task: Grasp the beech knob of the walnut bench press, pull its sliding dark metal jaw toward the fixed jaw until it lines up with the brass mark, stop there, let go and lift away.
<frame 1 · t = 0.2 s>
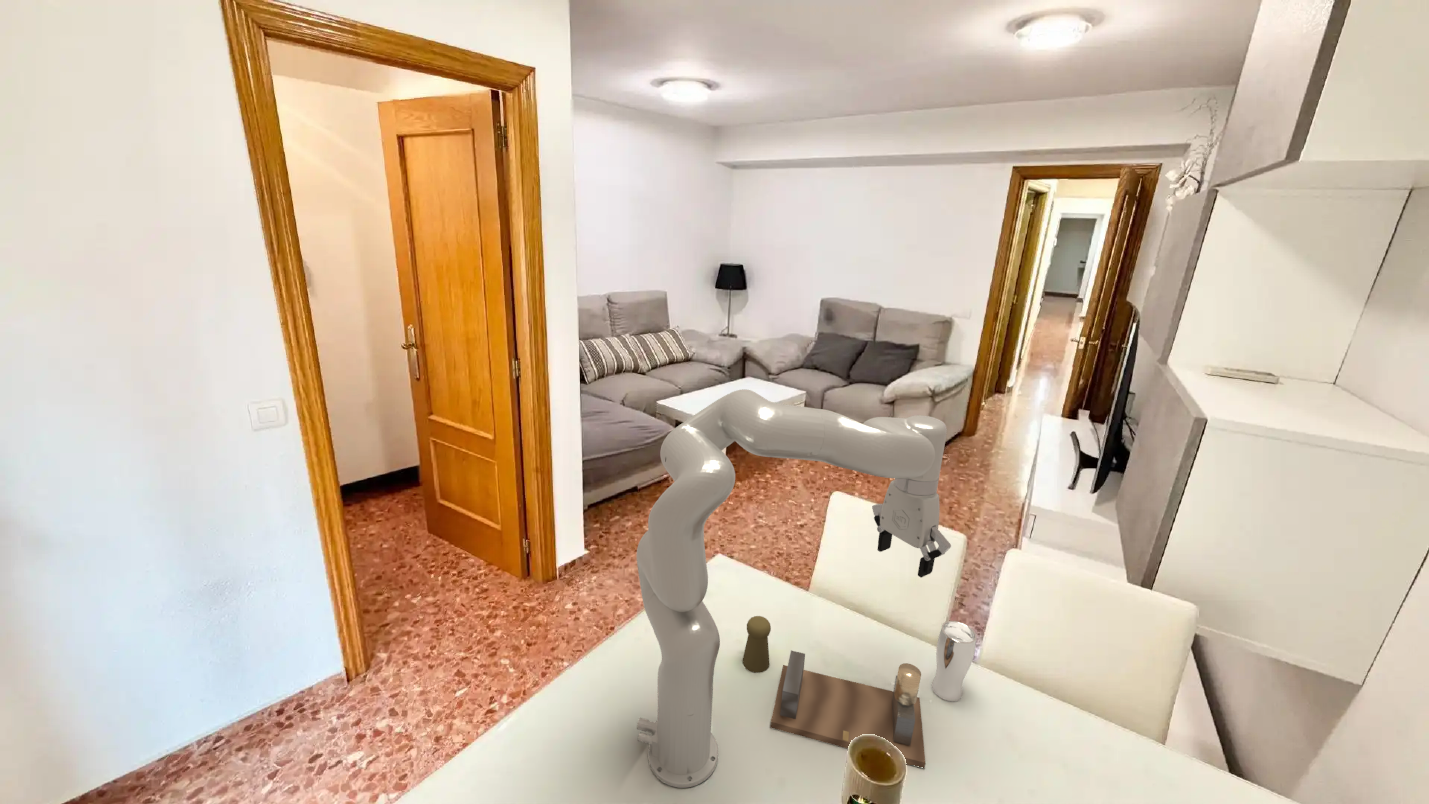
hand: (903, 561, 107), 30 cm above the table, tool pointing down, fingers open, 9 cm apart
beer glass: (946, 691, 116), on the table
olive brown pawn: (755, 663, 121), on the table
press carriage: (905, 696, 104), point 8 cm above the table, slide at 0.0 cm
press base: (846, 715, 109), on the table
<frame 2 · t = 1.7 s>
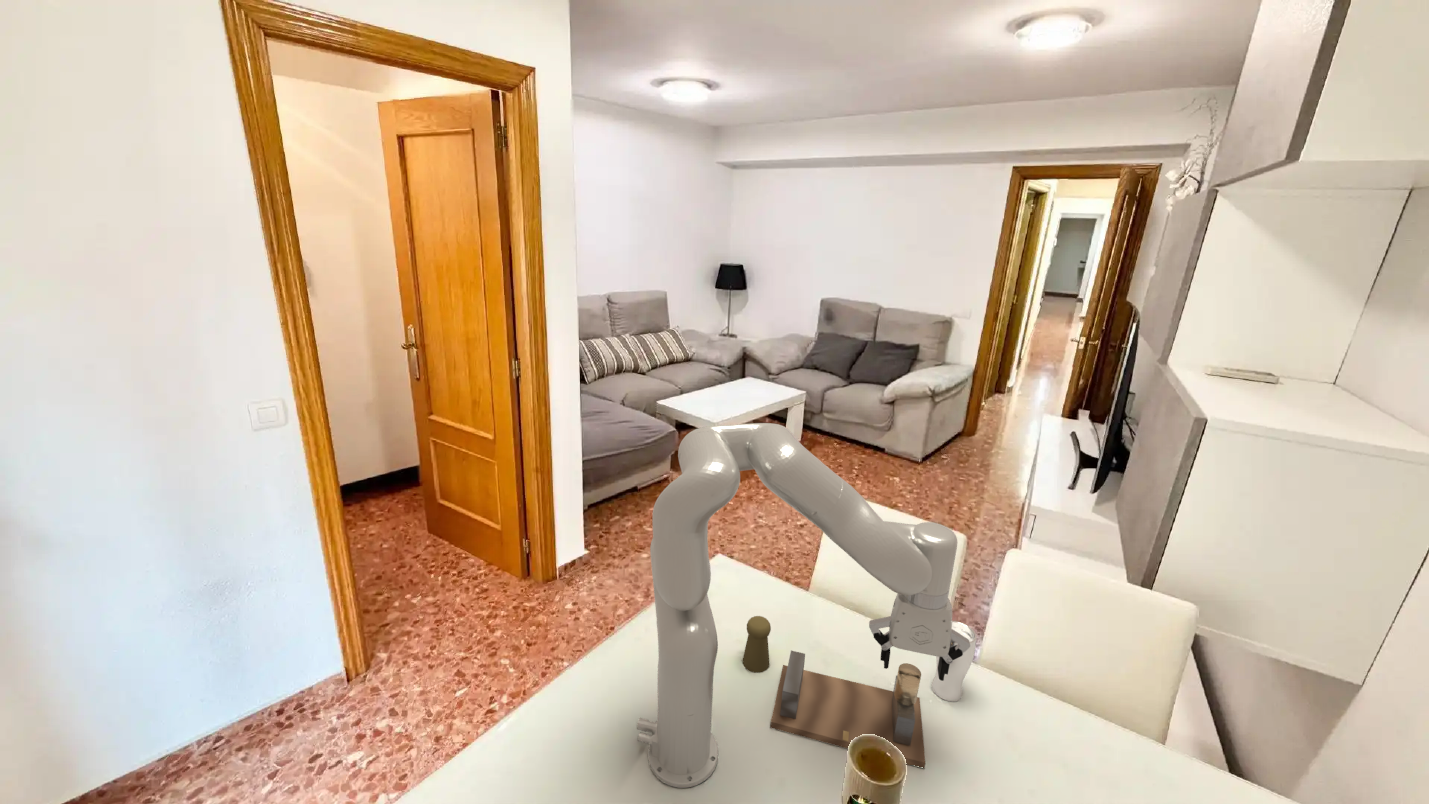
hand: (912, 669, 102), 14 cm above the table, tool pointing down, fingers open, 9 cm apart
nothing on the table moved.
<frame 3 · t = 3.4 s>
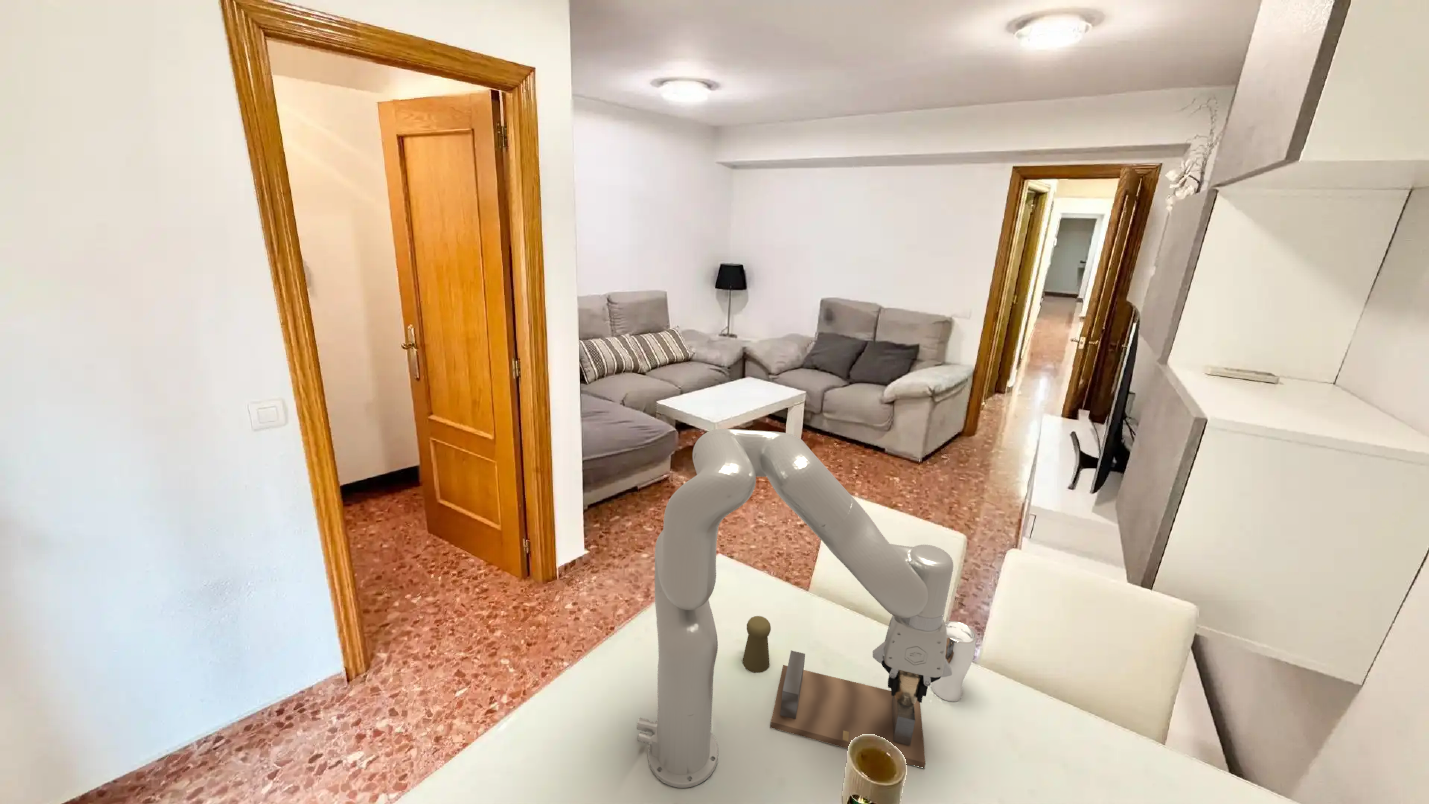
hand: (905, 692, 104), 9 cm above the table, tool pointing down, fingers closed on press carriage, 4 cm apart
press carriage: (905, 696, 104), point 8 cm above the table, slide at 0.0 cm, touching gripper
everything else where it was.
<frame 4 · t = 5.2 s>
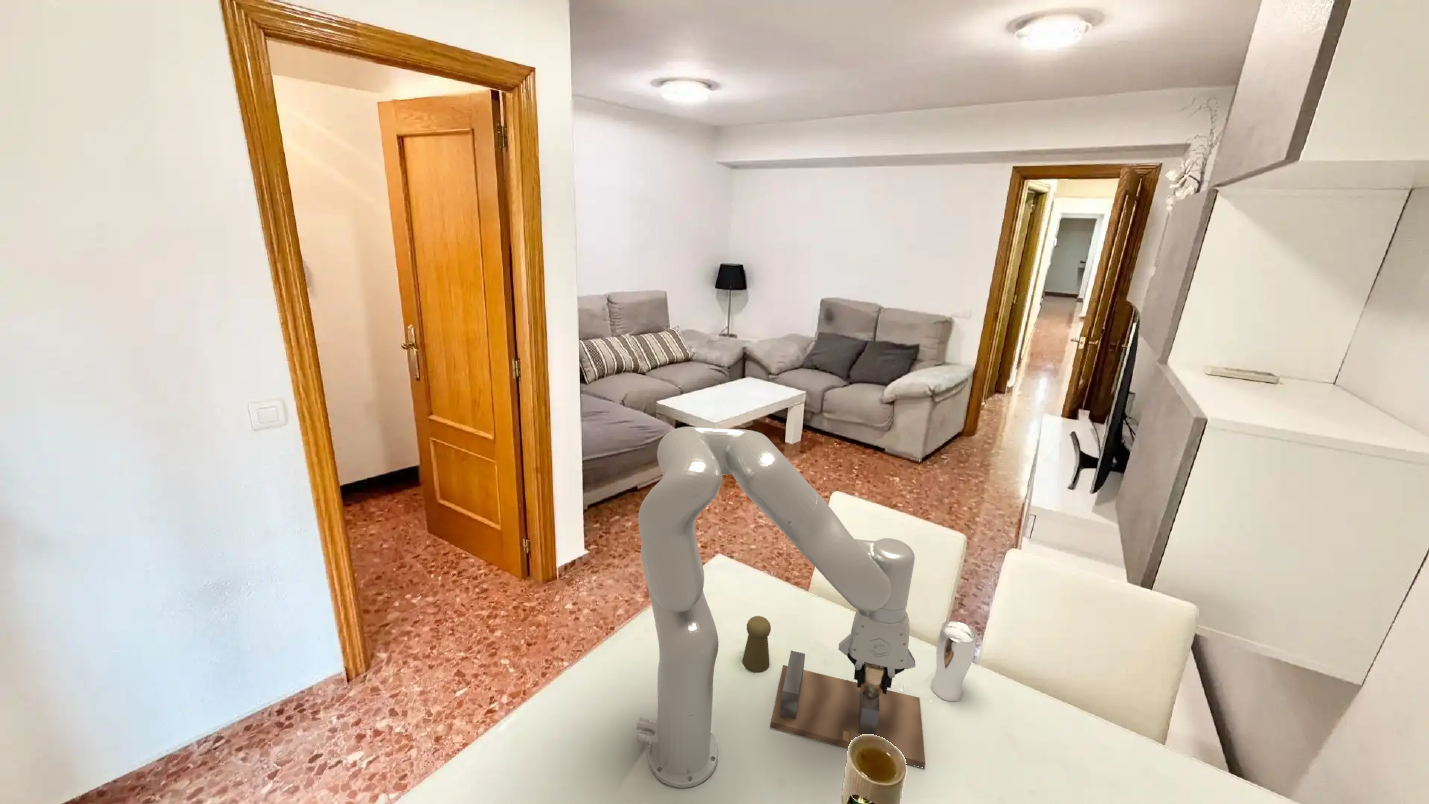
hand: (871, 684, 105), 9 cm above the table, tool pointing down, fingers closed on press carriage, 4 cm apart
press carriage: (871, 688, 106), point 8 cm above the table, slide at 6.3 cm, touching gripper
everything else where it was.
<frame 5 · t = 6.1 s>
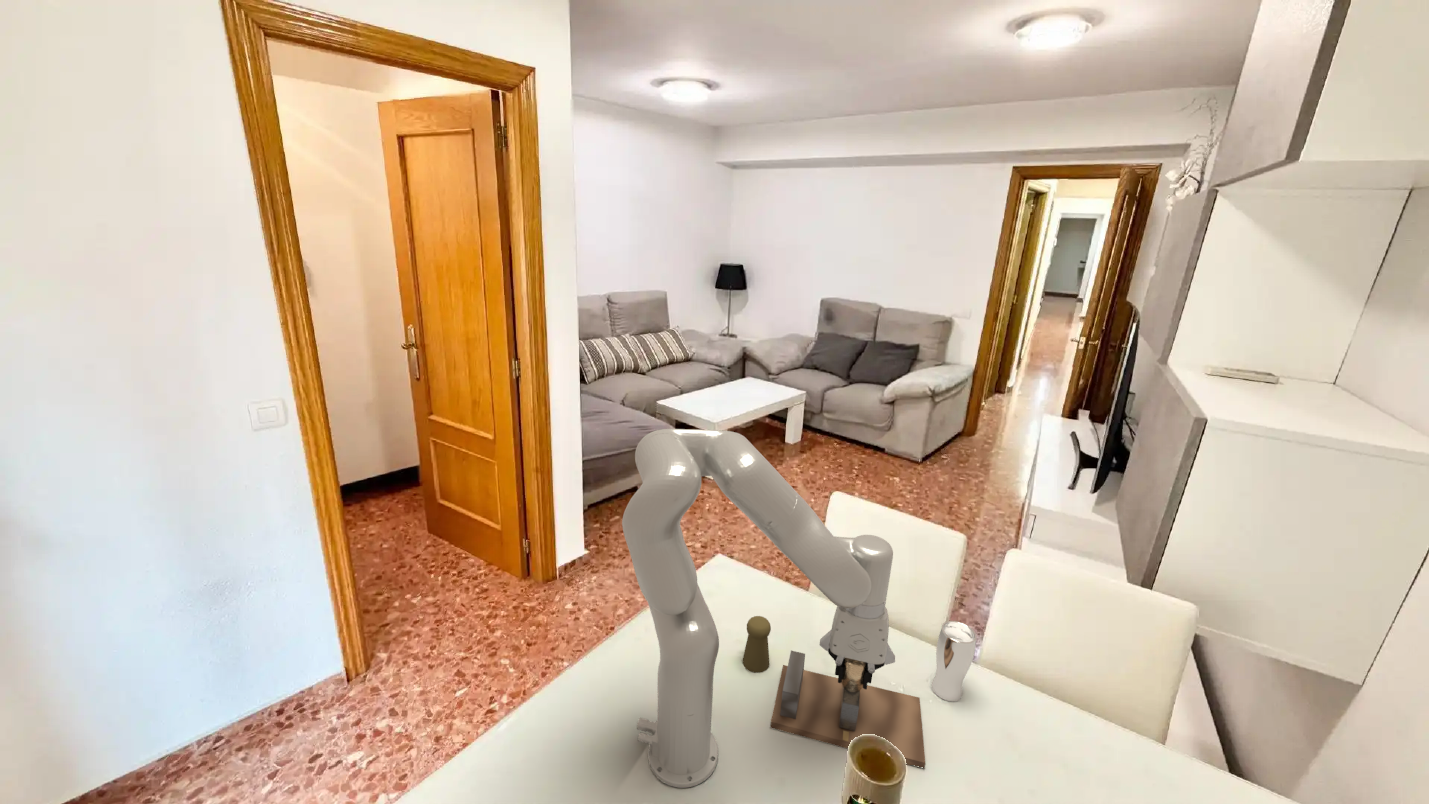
hand: (852, 679, 106), 9 cm above the table, tool pointing down, fingers closed on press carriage, 4 cm apart
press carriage: (851, 684, 107), point 8 cm above the table, slide at 9.9 cm, touching gripper
everything else where it was.
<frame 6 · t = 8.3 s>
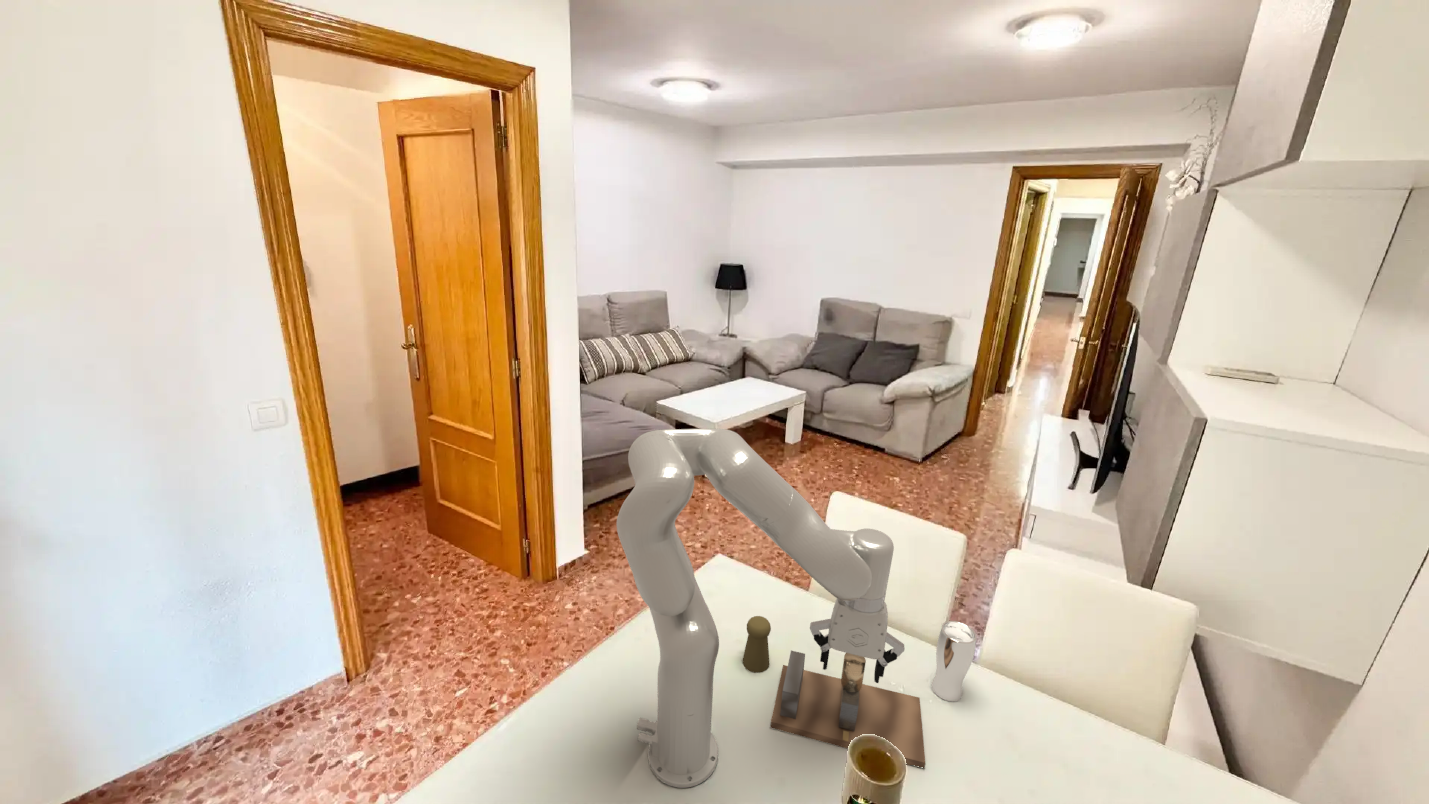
hand: (850, 671, 105), 11 cm above the table, tool pointing down, fingers open, 9 cm apart
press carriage: (851, 683, 107), point 8 cm above the table, slide at 10.0 cm
everything else where it was.
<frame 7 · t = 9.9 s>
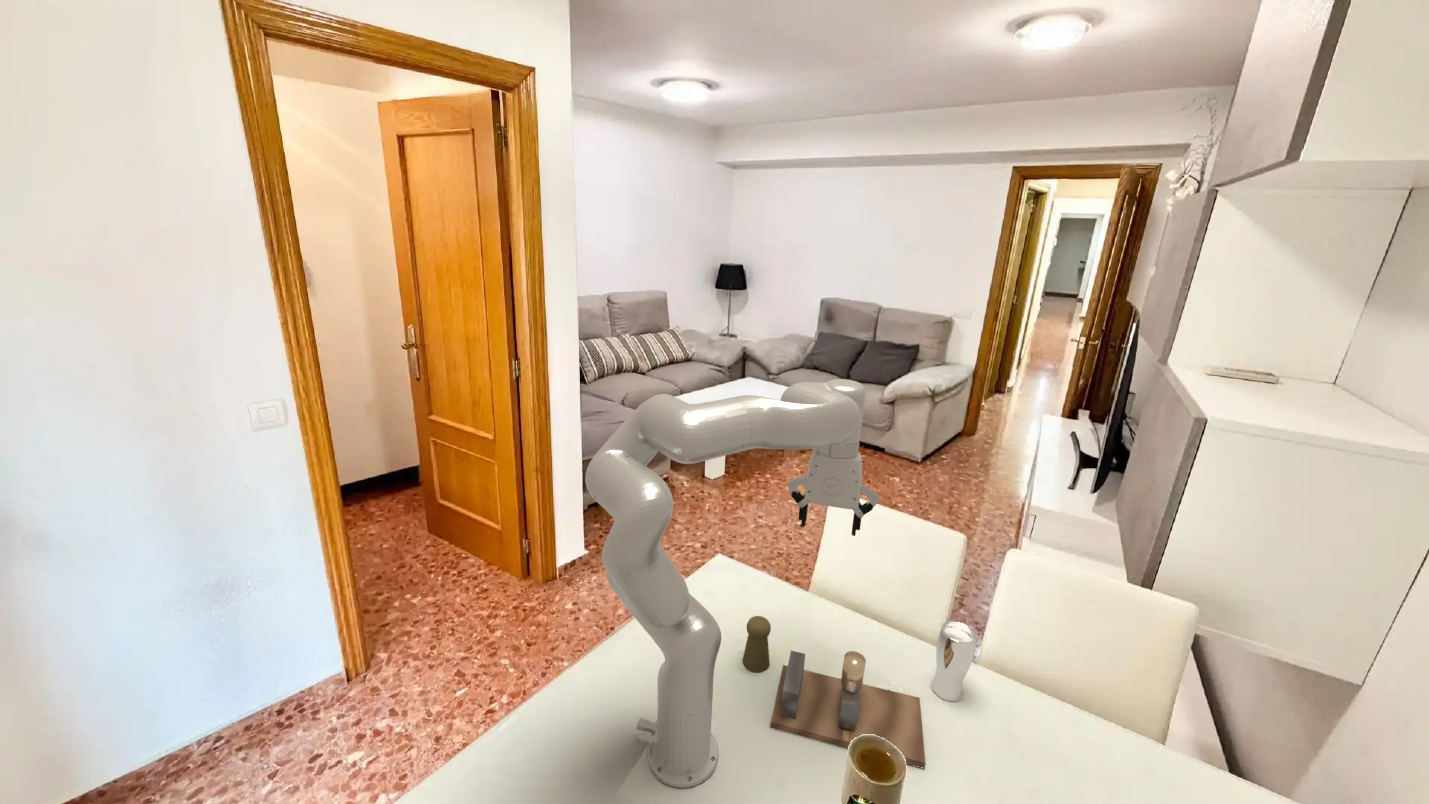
hand: (828, 527, 107), 36 cm above the table, tool pointing down, fingers open, 9 cm apart
nothing on the table moved.
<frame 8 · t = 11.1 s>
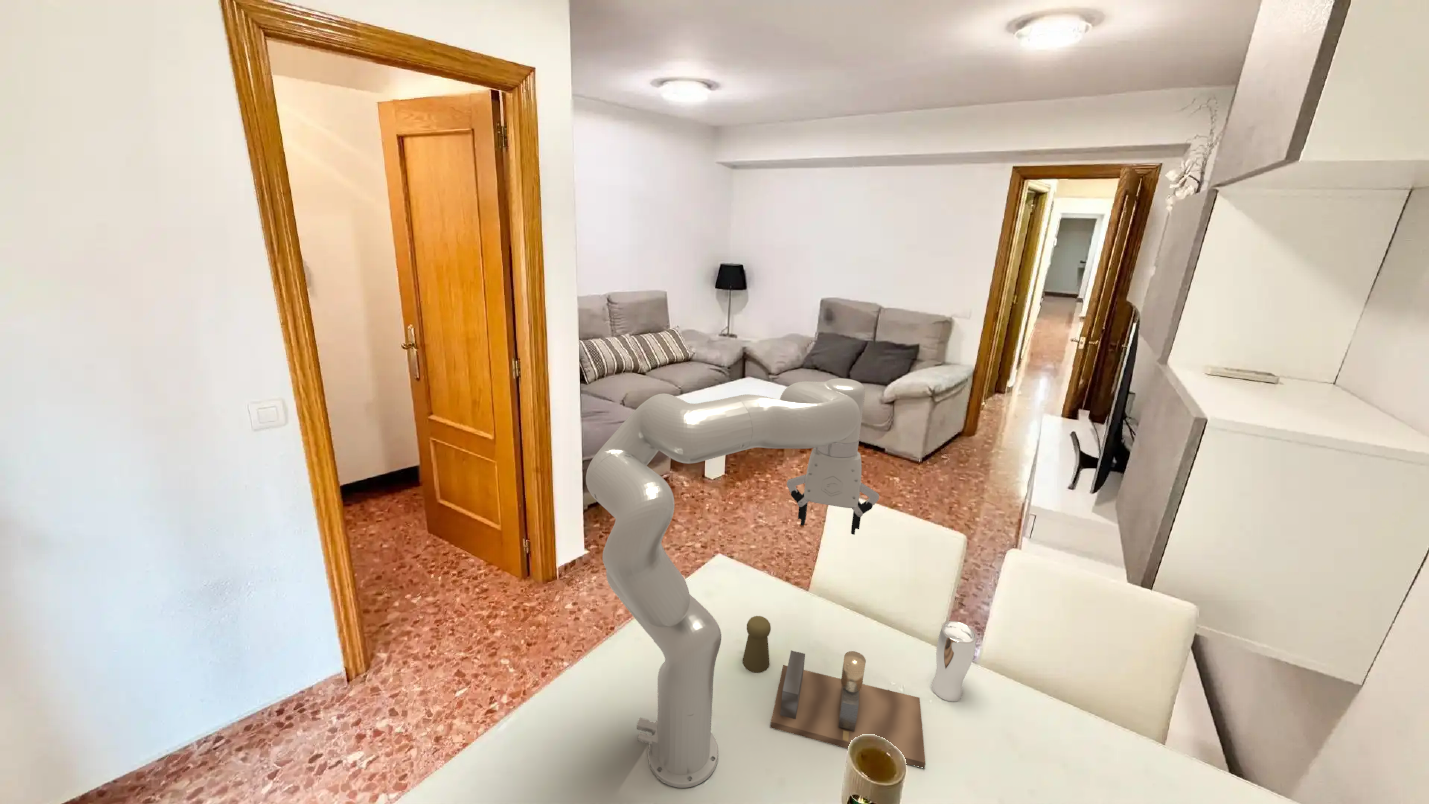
hand: (827, 526, 107), 36 cm above the table, tool pointing down, fingers open, 9 cm apart
nothing on the table moved.
at the end: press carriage slide at 10.0 cm; the gripper is holding nothing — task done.
